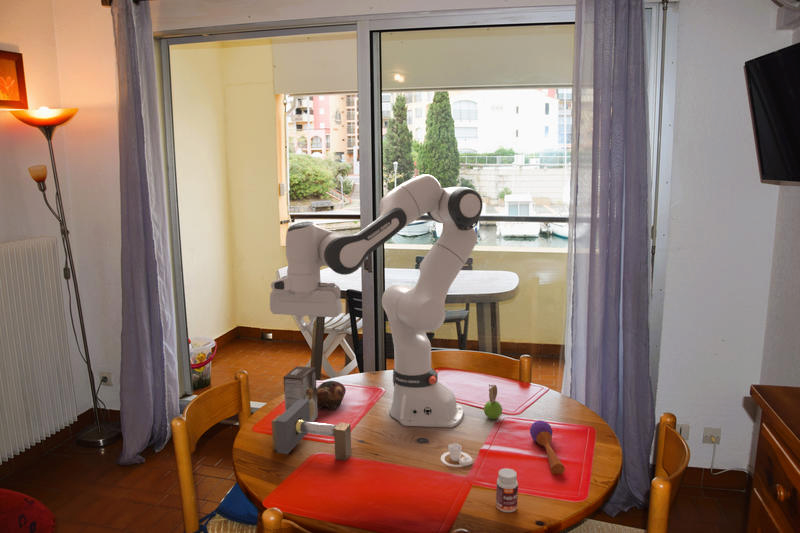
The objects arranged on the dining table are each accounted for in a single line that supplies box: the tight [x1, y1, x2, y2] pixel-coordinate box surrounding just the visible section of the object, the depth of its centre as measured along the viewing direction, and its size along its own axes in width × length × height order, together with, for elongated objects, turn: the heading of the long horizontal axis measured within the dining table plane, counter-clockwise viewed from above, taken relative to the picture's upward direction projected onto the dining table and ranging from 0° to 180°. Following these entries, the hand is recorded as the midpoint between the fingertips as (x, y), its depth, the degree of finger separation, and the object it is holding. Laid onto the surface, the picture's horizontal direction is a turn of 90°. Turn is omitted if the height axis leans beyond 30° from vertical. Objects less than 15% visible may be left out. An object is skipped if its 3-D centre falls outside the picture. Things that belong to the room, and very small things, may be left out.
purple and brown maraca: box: [529, 420, 566, 476], centre depth 154 cm, size 6×6×20 cm
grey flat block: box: [275, 399, 310, 455], centre depth 158 cm, size 3×14×9 cm, turn 163°
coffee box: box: [283, 365, 319, 422], centre depth 173 cm, size 9×6×16 cm
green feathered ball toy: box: [483, 384, 503, 420], centre depth 174 cm, size 5×6×12 cm
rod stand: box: [271, 414, 352, 462], centre depth 157 cm, size 21×4×9 cm, turn 74°
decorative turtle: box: [316, 380, 347, 411], centre depth 185 cm, size 10×15×8 cm, turn 166°
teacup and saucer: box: [440, 442, 474, 468], centre depth 152 cm, size 9×8×4 cm
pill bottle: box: [495, 467, 519, 513], centre depth 131 cm, size 5×5×8 cm
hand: (307, 330), depth 163 cm, fingers closed
